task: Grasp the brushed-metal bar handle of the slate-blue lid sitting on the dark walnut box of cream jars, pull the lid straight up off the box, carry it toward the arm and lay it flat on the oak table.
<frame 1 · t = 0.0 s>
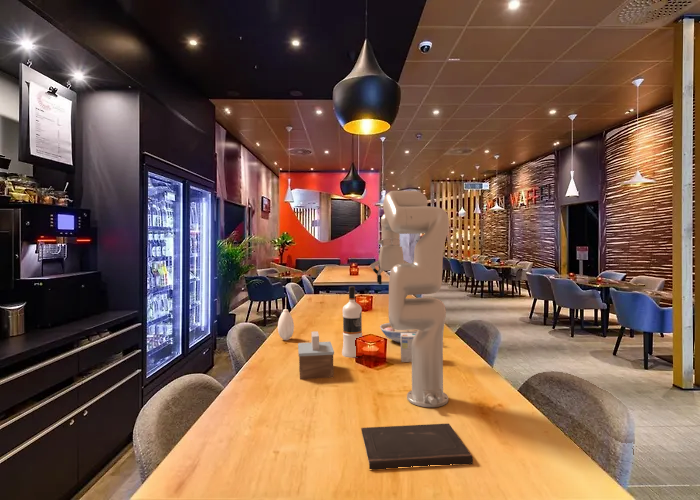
hand: (391, 283, 166), 31 cm above the table, tool pointing down, fingers open, 9 cm apart
lid: (315, 352, 147), point 8 cm above the table, touching walnut box
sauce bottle: (286, 340, 199), on the table
jar b: (315, 369, 150), point 1 cm above the table, touching walnut box
walnut box: (315, 373, 147), on the table
vodka: (352, 356, 170), on the table
ramen bowl: (403, 341, 193), on the table
light bulb box: (413, 360, 163), on the table
jar a: (316, 374, 144), point 1 cm above the table, touching walnut box
hardcover book: (412, 451, 94), on the table
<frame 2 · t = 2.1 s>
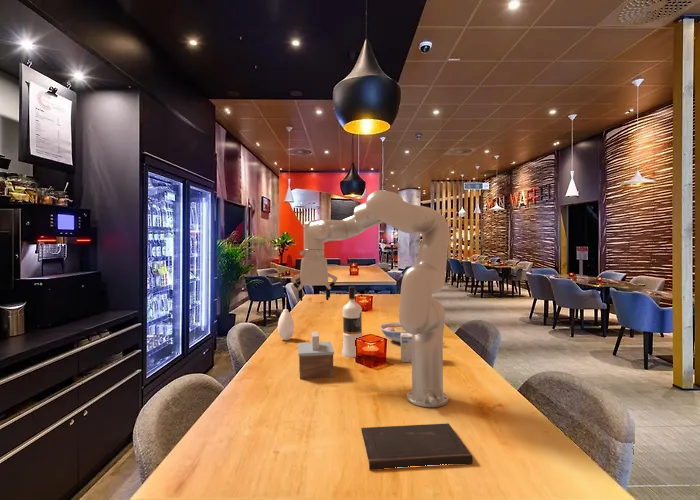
hand: (314, 300, 147), 28 cm above the table, tool pointing down, fingers open, 9 cm apart
nothing on the table moved.
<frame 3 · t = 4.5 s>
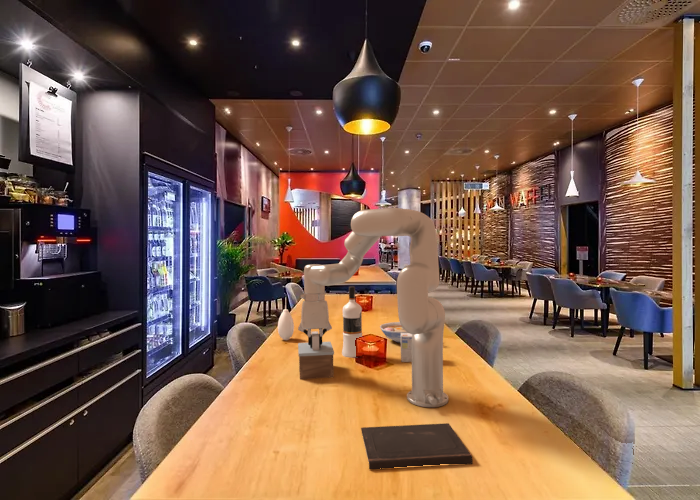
hand: (315, 346, 147), 10 cm above the table, tool pointing down, fingers closed on lid, 2 cm apart
lid: (315, 352, 147), point 8 cm above the table, touching gripper, walnut box
everything else where it was.
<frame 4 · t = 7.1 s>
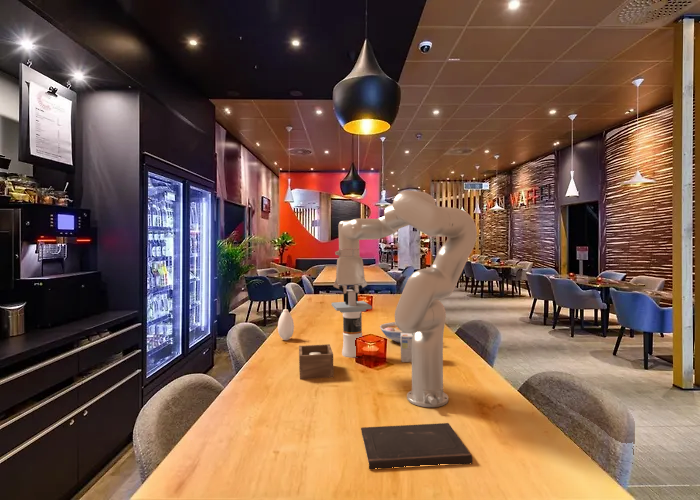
hand: (350, 303, 146), 26 cm above the table, tool pointing down, fingers closed on lid, 2 cm apart
lid: (350, 309, 146), point 24 cm above the table, touching gripper
everything else where it was.
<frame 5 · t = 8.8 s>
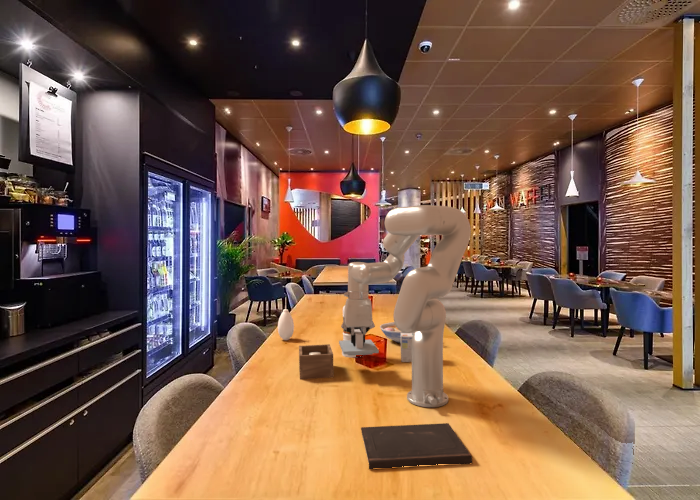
hand: (358, 344, 147), 11 cm above the table, tool pointing down, fingers closed on lid, 2 cm apart
lid: (357, 350, 147), point 9 cm above the table, touching gripper
everything else where it was.
when the fingers open (4 cm above the table, at t = 10.1 s): lid drops 2 cm, on the table.
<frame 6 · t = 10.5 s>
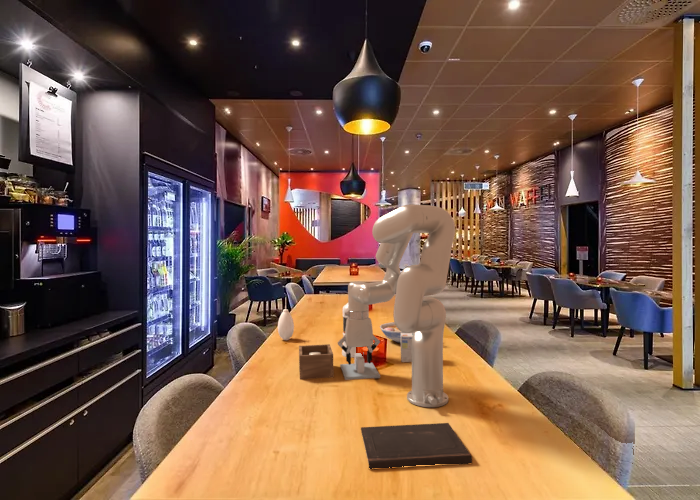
hand: (359, 362, 147), 4 cm above the table, tool pointing down, fingers open, 6 cm apart
lid: (359, 374, 147), on the table
everything else where it was.
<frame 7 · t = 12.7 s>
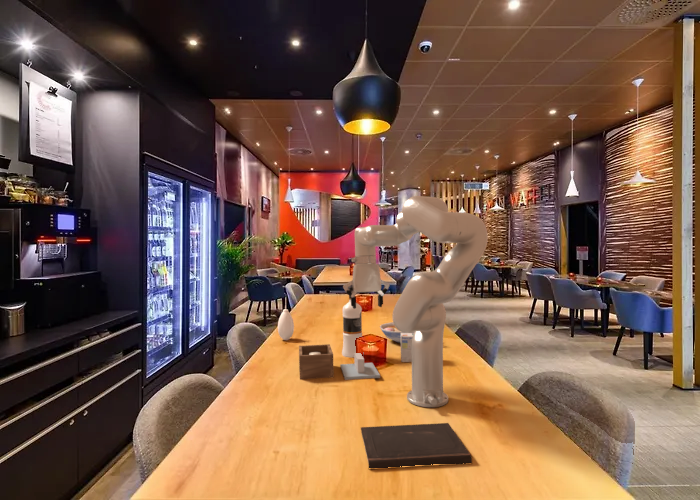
hand: (367, 307, 145), 25 cm above the table, tool pointing down, fingers open, 9 cm apart
nothing on the table moved.
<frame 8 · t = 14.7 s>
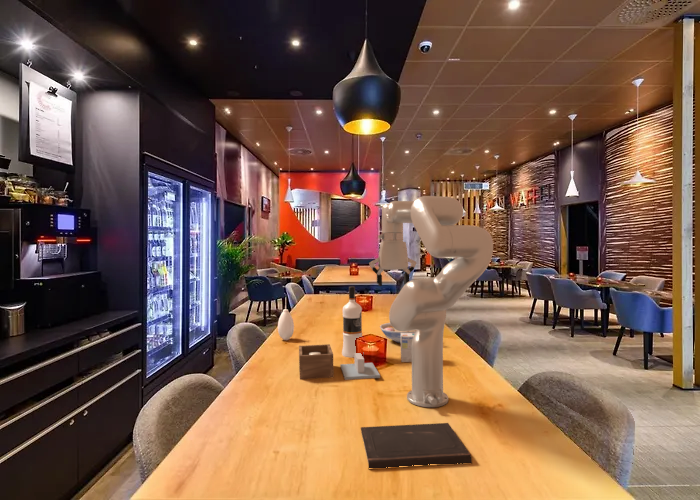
hand: (393, 285, 143), 33 cm above the table, tool pointing down, fingers open, 9 cm apart
nothing on the table moved.
at the end: lid inside the target area (0.1 cm from its centre), on the table; lid tilted 0°; the gripper is holding nothing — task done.
